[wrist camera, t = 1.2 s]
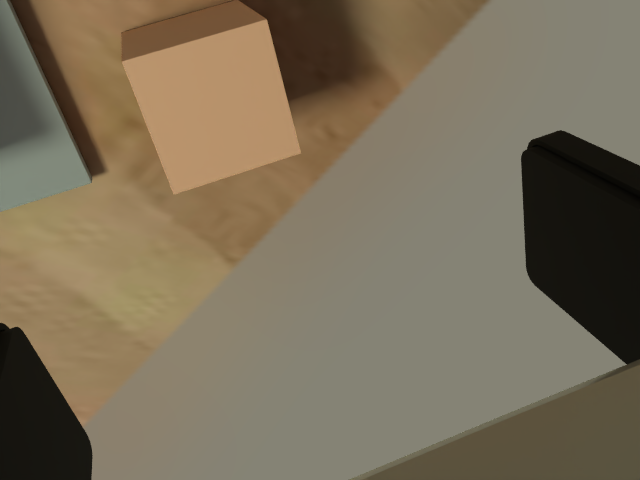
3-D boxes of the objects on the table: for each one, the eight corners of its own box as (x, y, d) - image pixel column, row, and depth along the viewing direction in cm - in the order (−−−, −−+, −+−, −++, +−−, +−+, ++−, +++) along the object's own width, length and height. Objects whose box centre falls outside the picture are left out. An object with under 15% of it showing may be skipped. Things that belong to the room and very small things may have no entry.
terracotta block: (237, -1, 25) (266, 19, 20) (267, 110, 28) (300, 153, 23) (121, 32, 25) (121, 61, 20) (163, 143, 27) (173, 194, 22)
